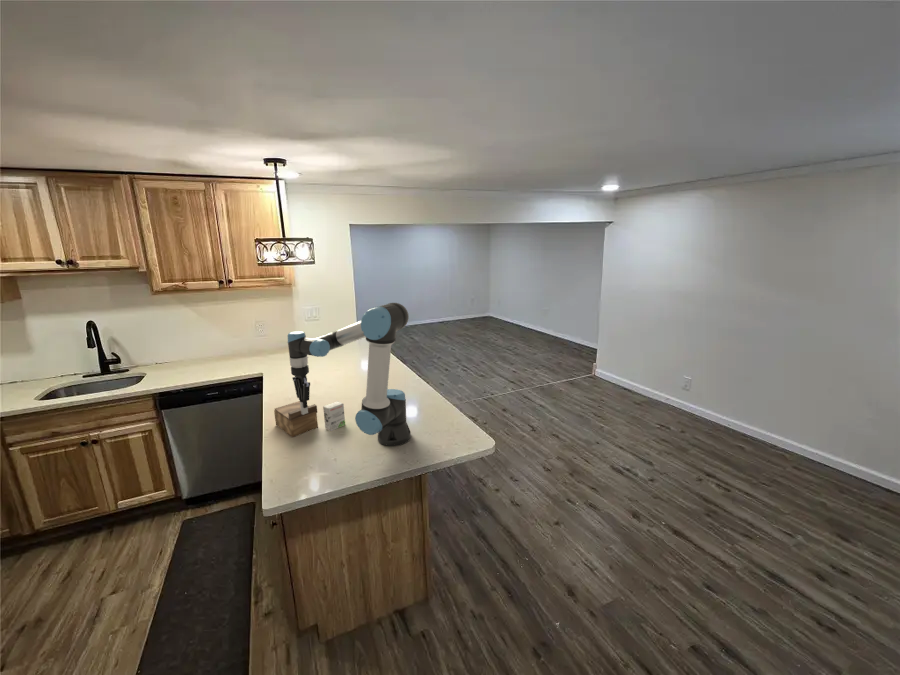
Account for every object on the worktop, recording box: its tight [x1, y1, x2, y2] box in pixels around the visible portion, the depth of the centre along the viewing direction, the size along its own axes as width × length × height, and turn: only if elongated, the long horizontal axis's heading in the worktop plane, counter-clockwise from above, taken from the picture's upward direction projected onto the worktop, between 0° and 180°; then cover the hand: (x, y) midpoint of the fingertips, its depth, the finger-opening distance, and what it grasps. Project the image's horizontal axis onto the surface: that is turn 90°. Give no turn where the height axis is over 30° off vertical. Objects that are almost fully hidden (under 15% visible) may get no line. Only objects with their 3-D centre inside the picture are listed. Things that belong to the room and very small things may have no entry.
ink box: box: [322, 400, 346, 432], centre depth 195 cm, size 9×5×12 cm, turn 139°
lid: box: [274, 400, 318, 422], centre depth 193 cm, size 18×13×4 cm
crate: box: [273, 409, 319, 438], centre depth 196 cm, size 18×13×8 cm
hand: (304, 413), depth 187 cm, fingers closed
